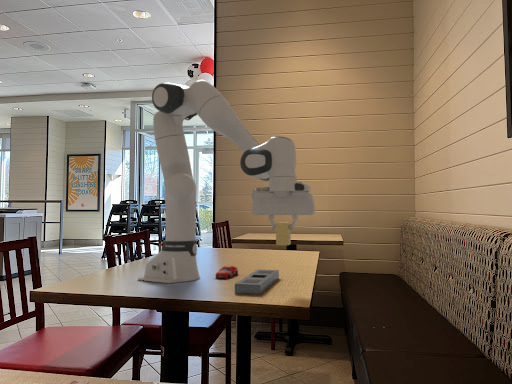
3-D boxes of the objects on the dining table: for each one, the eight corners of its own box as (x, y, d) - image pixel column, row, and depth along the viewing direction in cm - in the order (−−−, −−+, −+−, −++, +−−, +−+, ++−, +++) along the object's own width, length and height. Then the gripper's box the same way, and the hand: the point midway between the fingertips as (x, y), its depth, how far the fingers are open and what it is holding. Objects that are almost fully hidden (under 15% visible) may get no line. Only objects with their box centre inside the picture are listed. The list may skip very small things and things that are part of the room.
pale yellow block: (276, 245, 119) (275, 222, 119) (278, 243, 123) (278, 222, 123) (288, 245, 118) (288, 222, 118) (290, 243, 122) (290, 222, 122)
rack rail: (234, 293, 114) (234, 283, 114) (258, 277, 141) (257, 269, 141) (260, 294, 112) (260, 284, 112) (278, 278, 139) (278, 270, 139)
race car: (226, 280, 137) (226, 269, 137) (213, 279, 139) (213, 269, 139) (240, 274, 149) (240, 264, 150) (227, 274, 151) (227, 264, 151)
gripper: (249, 186, 121) (249, 230, 120) (313, 185, 115) (313, 230, 115) (254, 187, 127) (254, 229, 126) (315, 186, 121) (315, 229, 121)
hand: (283, 229), depth 120 cm, fingers closed on pale yellow block, 4 cm apart
